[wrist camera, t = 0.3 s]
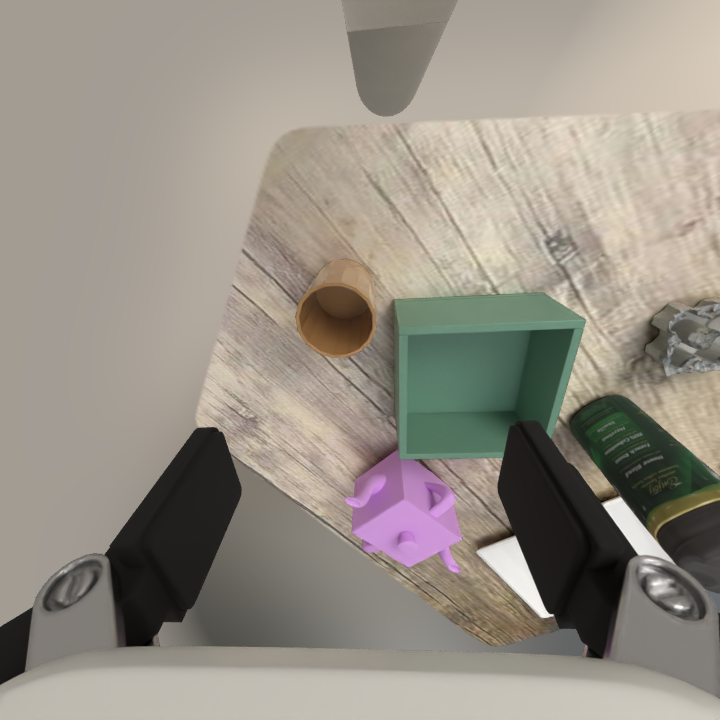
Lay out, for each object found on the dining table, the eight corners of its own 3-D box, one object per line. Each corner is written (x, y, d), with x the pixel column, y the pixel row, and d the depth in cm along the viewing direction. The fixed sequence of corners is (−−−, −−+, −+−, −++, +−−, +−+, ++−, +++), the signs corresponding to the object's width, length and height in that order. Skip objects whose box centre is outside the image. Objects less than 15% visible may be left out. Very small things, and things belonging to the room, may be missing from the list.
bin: (393, 299, 34) (398, 327, 28) (543, 292, 34) (587, 319, 27) (395, 415, 42) (399, 459, 35) (517, 412, 41) (546, 457, 34)
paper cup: (310, 261, 33) (289, 284, 25) (374, 257, 32) (374, 280, 25) (317, 321, 36) (302, 359, 28) (376, 318, 36) (377, 356, 28)
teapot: (462, 444, 44) (486, 516, 34) (445, 508, 50) (462, 584, 41) (350, 437, 44) (343, 507, 35) (348, 502, 50) (342, 576, 41)
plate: (472, 540, 54) (475, 553, 52) (637, 476, 45) (648, 488, 44) (537, 607, 63) (542, 620, 61) (685, 564, 55) (695, 577, 53)
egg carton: (768, 287, 32) (818, 299, 29) (737, 352, 36) (777, 371, 32) (655, 299, 33) (690, 312, 30) (635, 362, 37) (664, 381, 33)
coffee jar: (555, 419, 41) (674, 572, 25) (615, 382, 38) (795, 528, 22) (594, 458, 44) (723, 618, 28) (653, 427, 41) (835, 584, 25)
